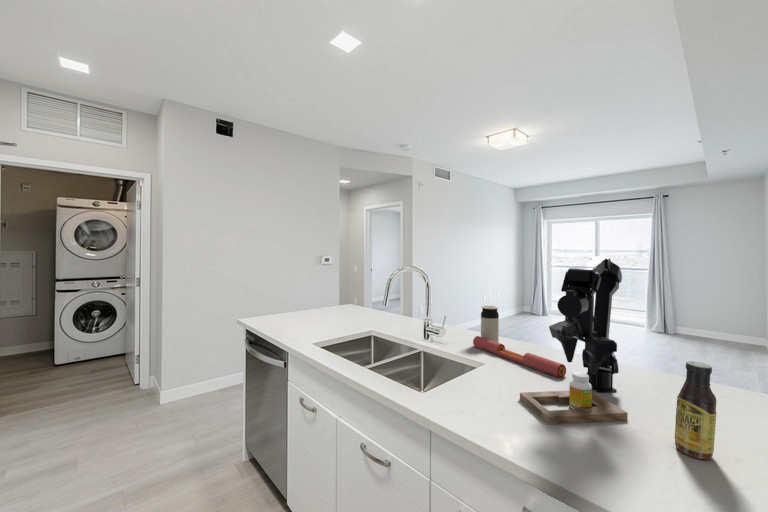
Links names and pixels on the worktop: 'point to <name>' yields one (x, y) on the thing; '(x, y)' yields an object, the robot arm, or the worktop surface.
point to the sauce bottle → (696, 413)
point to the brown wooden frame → (596, 413)
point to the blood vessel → (522, 357)
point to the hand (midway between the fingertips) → (580, 367)
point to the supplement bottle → (580, 391)
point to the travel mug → (490, 323)
